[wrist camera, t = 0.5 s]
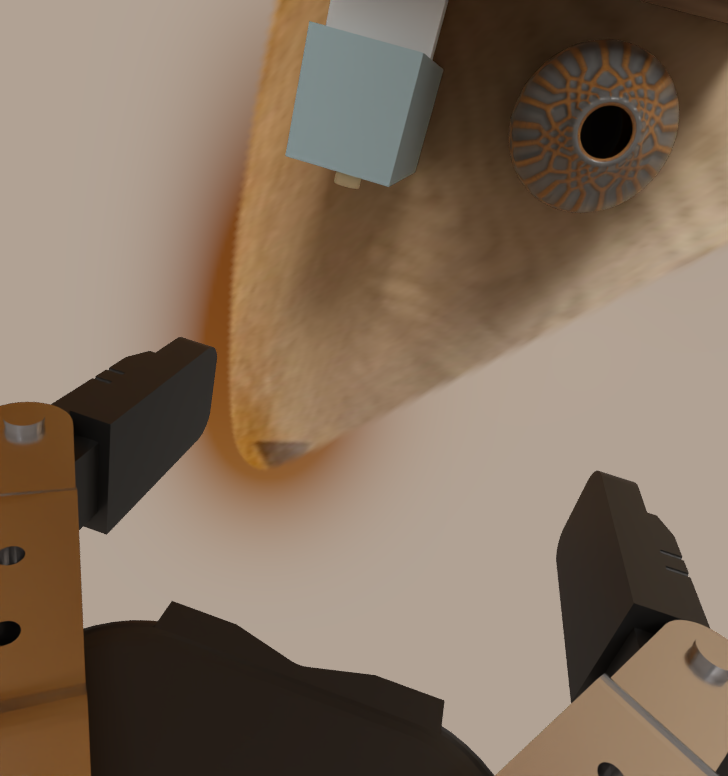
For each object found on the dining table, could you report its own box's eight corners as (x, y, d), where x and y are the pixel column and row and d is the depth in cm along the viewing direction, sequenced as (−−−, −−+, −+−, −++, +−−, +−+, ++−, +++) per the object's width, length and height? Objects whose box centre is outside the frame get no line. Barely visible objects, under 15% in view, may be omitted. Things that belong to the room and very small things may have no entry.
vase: (480, 122, 30) (471, 123, 22) (603, 13, 27) (642, -30, 19) (560, 229, 31) (577, 266, 23) (685, 136, 28) (753, 143, 20)
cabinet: (373, -34, 28) (328, -88, 21) (465, -10, 28) (451, -55, 21) (331, 163, 32) (281, 175, 25) (410, 187, 32) (383, 206, 25)
